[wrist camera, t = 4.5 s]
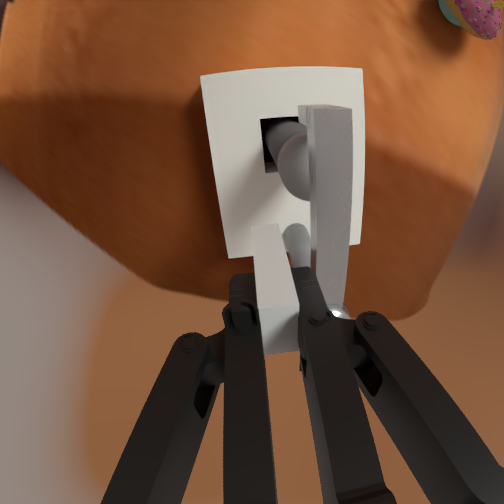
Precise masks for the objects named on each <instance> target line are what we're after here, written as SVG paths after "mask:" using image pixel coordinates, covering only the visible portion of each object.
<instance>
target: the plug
mask: <svg viewBox="0 0 504 504" xmlns="http://www.w3.org/2000/svg"><path fill="white" fill-rule="evenodd" d="M265 143H266V145H267V147H268V149H269V151H270V153H271V155H272V157H273V159H274V162H275V164H276V166H277V169H278V173H279V175H280V178H281V180H282V182H283V184H284V186H285V188H286V189H287V190H288V191H289V192H290V193H291V194H292V195H293V196H295V197H296V198H298V199H301V200H304V201H310V182H309V157H308V138H307V127H305V126H303V125H301V124H299V123H298V122H296V121H294V120H292V119H288V118H280V119H277V120H275V121H273V122H272V123H270V124H269V126H268V127H267V129H266V131H265Z"/></svg>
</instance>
